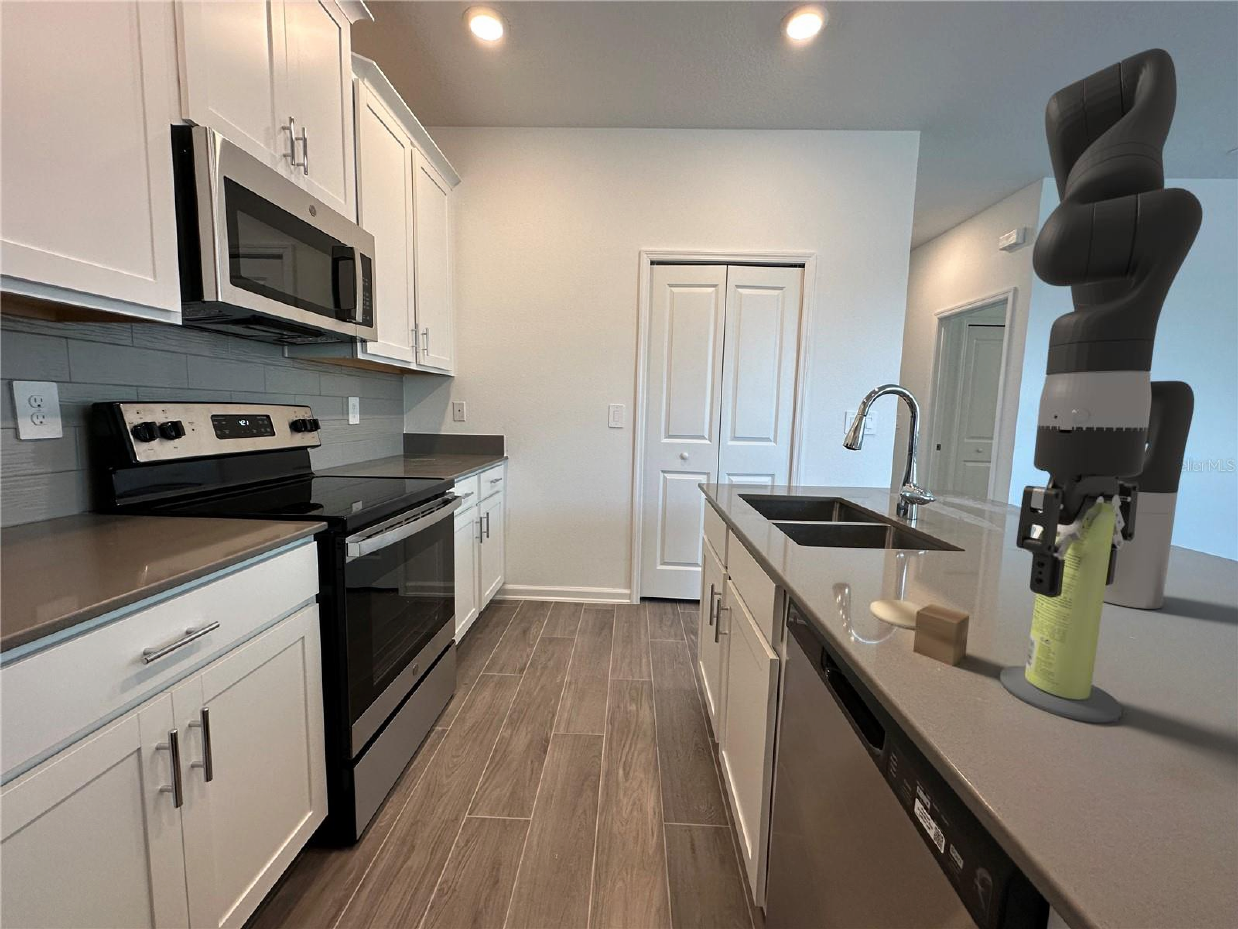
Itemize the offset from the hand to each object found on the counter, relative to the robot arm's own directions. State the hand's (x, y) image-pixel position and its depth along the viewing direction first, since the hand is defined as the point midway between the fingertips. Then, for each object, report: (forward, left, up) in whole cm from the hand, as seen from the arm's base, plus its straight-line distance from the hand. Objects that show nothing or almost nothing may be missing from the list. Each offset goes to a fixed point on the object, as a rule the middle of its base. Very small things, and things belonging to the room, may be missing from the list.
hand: (1071, 588), depth 48 cm
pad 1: (-3, -19, -11) cm, 22 cm away
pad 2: (0, 0, -11) cm, 11 cm away
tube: (0, 0, -11) cm, 11 cm away
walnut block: (+3, -10, -11) cm, 15 cm away
